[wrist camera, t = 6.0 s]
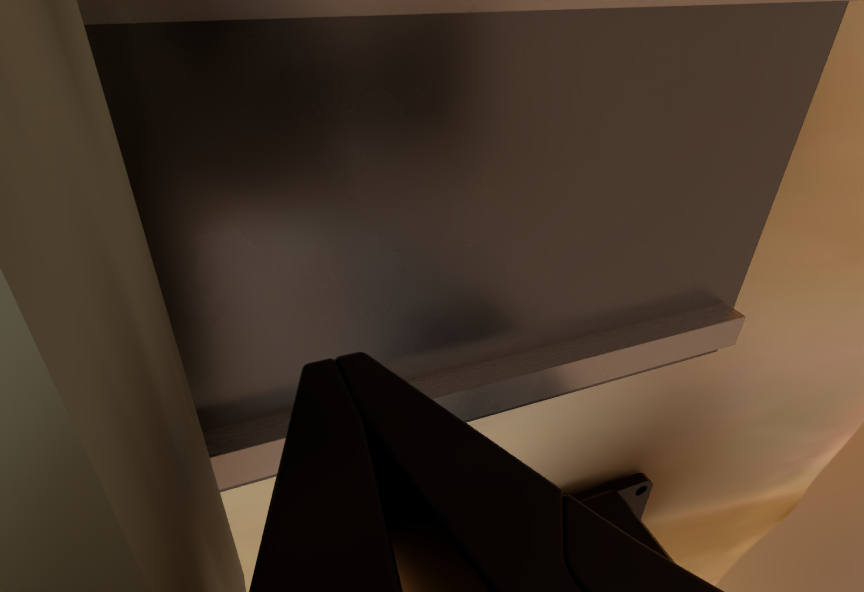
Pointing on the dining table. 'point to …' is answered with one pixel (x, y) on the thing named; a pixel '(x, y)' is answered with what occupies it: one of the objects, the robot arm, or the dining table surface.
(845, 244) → the dining table surface
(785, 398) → the dining table surface
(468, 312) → the track
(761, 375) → the dining table surface
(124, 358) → the cart
